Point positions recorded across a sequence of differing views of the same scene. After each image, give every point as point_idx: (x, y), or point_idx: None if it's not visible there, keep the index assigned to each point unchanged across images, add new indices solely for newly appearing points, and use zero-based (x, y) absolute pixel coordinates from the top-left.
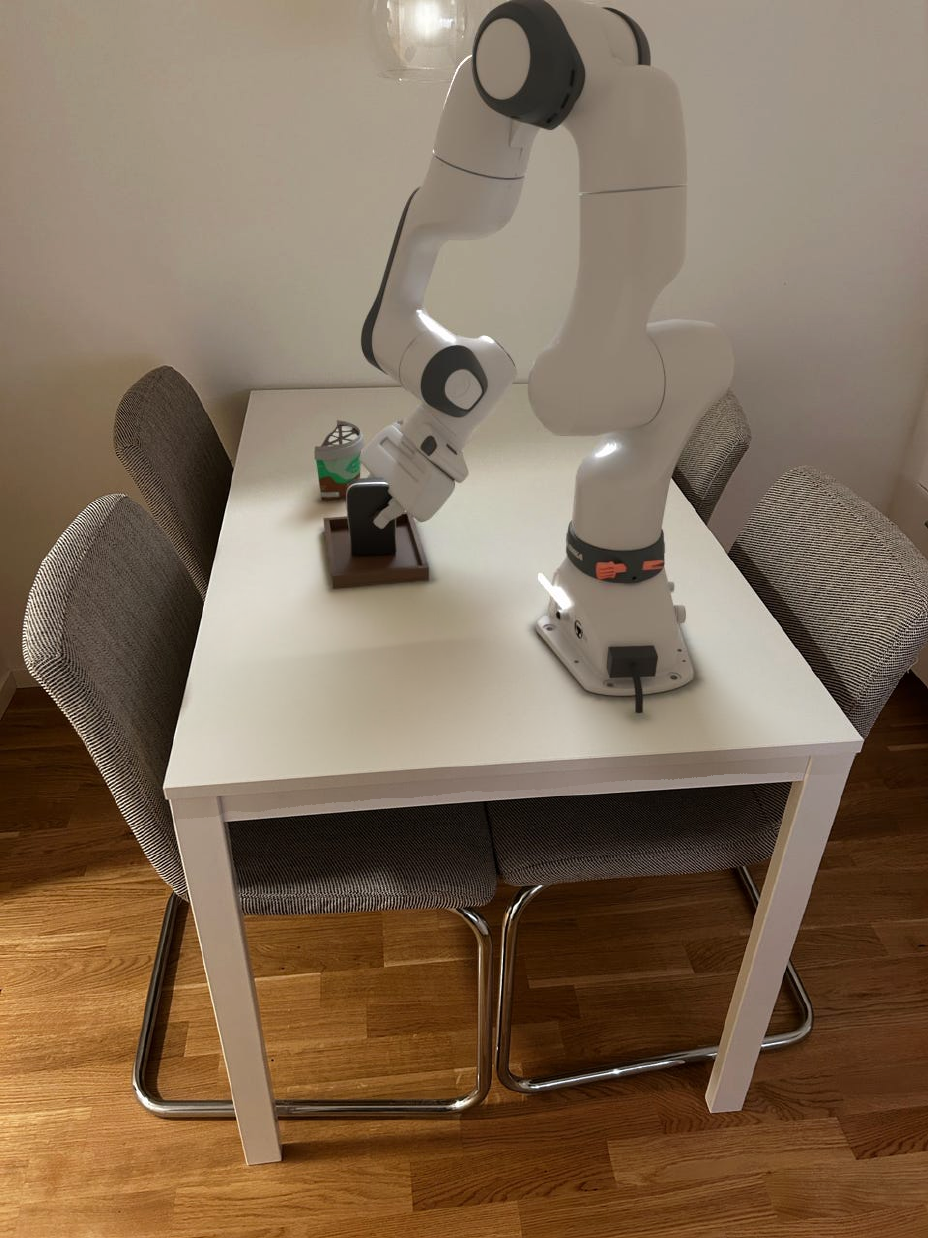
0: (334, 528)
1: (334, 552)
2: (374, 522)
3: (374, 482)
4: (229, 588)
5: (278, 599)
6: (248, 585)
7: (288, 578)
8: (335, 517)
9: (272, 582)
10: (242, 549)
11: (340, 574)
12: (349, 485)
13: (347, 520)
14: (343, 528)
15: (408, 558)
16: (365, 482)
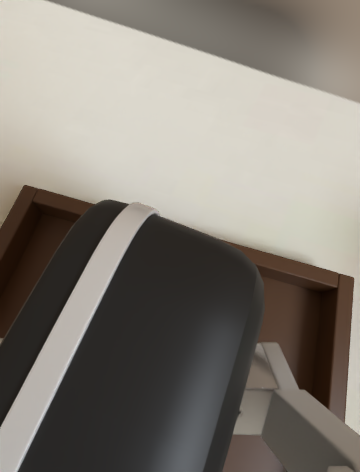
0: (321, 306)
1: None
2: (2, 338)
3: (16, 447)
4: (155, 51)
5: (69, 102)
6: (149, 77)
7: (137, 140)
8: (348, 311)
9: (138, 112)
10: (293, 105)
11: (17, 204)
12: (181, 229)
13: (328, 346)
14: (313, 331)
15: None
16: (92, 348)
